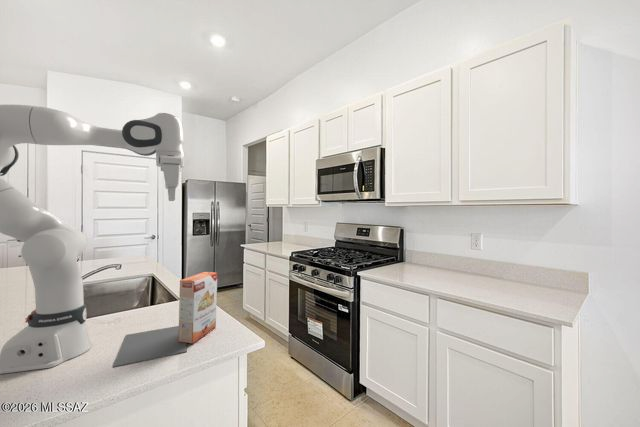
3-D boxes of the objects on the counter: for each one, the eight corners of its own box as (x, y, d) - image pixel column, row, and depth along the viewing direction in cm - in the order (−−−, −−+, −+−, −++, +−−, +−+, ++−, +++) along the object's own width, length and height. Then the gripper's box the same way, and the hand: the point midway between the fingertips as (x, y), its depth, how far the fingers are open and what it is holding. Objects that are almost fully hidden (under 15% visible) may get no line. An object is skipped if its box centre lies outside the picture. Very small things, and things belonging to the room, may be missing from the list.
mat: (113, 367, 81) (112, 366, 81) (126, 335, 101) (126, 334, 101) (186, 352, 90) (186, 351, 90) (185, 325, 109) (185, 324, 109)
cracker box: (193, 344, 94) (194, 281, 93) (177, 342, 95) (178, 279, 94) (217, 327, 107) (218, 271, 107) (202, 325, 109) (203, 270, 108)
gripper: (160, 164, 108) (161, 201, 109) (160, 156, 91) (161, 200, 91) (179, 165, 112) (180, 201, 112) (182, 158, 94) (183, 200, 94)
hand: (171, 200), depth 101 cm, fingers open, 8 cm apart
